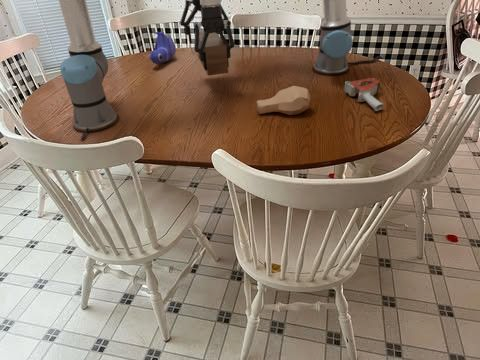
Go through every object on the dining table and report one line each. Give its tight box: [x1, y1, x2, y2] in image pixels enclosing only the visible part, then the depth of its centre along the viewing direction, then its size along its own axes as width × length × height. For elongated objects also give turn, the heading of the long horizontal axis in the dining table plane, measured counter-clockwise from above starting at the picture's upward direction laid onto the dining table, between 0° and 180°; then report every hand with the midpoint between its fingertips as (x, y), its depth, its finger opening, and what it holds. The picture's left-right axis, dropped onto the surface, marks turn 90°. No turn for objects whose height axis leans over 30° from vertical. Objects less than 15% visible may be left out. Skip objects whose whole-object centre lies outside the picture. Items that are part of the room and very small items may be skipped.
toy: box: [148, 31, 177, 69], centre depth 182 cm, size 10×17×25 cm
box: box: [197, 30, 229, 77], centre depth 147 cm, size 24×8×11 cm, turn 14°
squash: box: [255, 85, 312, 116], centre depth 130 cm, size 11×20×9 cm, turn 92°
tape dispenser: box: [343, 77, 384, 112], centre depth 136 cm, size 18×5×20 cm
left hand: (216, 67), depth 142 cm, fingers closed on box, 8 cm apart
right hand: (206, 40), depth 153 cm, fingers open, 13 cm apart
